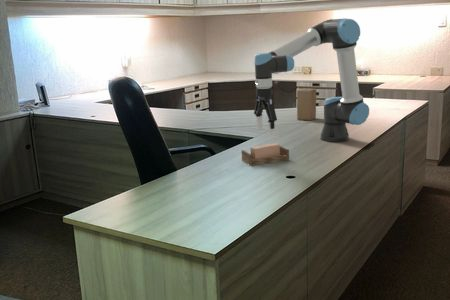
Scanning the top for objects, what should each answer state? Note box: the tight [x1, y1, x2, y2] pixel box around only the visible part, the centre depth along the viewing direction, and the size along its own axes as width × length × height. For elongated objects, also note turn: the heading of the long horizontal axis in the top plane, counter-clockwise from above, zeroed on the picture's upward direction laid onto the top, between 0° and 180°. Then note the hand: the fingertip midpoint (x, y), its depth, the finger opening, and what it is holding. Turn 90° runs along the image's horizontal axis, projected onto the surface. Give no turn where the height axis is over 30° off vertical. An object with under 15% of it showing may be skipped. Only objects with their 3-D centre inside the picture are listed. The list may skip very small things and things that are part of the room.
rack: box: [241, 145, 290, 166], centre depth 231 cm, size 20×10×5 cm, turn 110°
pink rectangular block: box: [250, 142, 281, 160], centre depth 231 cm, size 14×4×6 cm, turn 120°
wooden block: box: [296, 87, 317, 121], centre depth 324 cm, size 10×10×20 cm
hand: (265, 132), depth 229 cm, fingers open, 13 cm apart
